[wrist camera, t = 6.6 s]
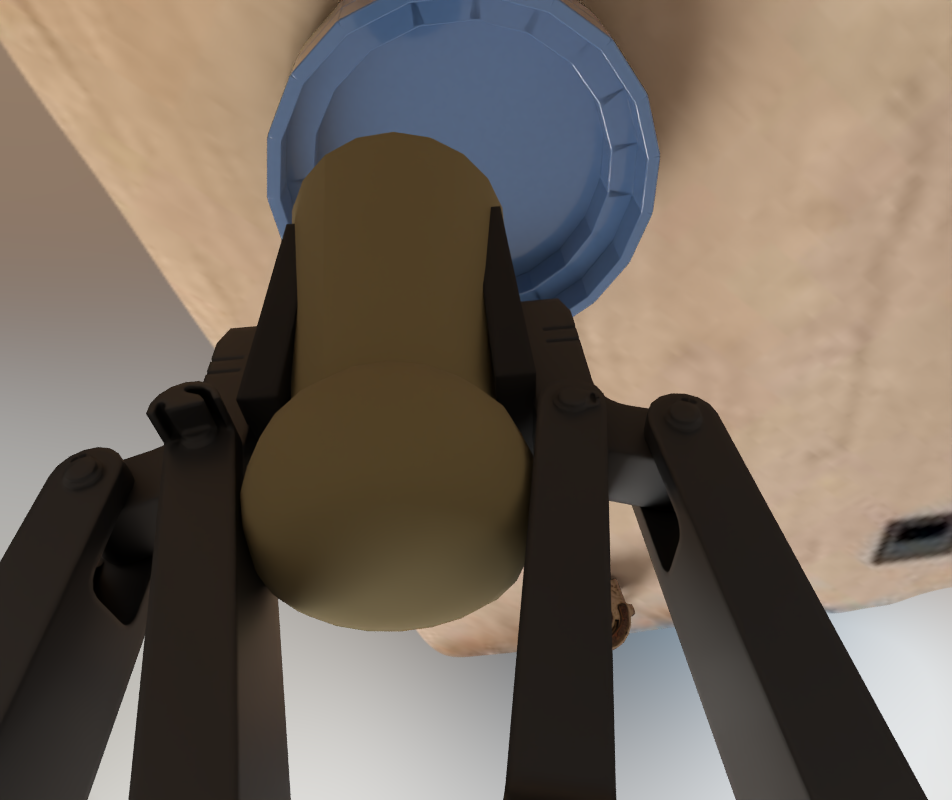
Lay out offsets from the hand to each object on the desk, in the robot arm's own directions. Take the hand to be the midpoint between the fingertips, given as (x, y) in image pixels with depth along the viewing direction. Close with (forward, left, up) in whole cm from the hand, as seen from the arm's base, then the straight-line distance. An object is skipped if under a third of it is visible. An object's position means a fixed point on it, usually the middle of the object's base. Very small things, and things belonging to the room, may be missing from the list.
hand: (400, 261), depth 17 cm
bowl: (+5, +2, -17) cm, 18 cm away
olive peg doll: (0, 0, -1) cm, 1 cm away
